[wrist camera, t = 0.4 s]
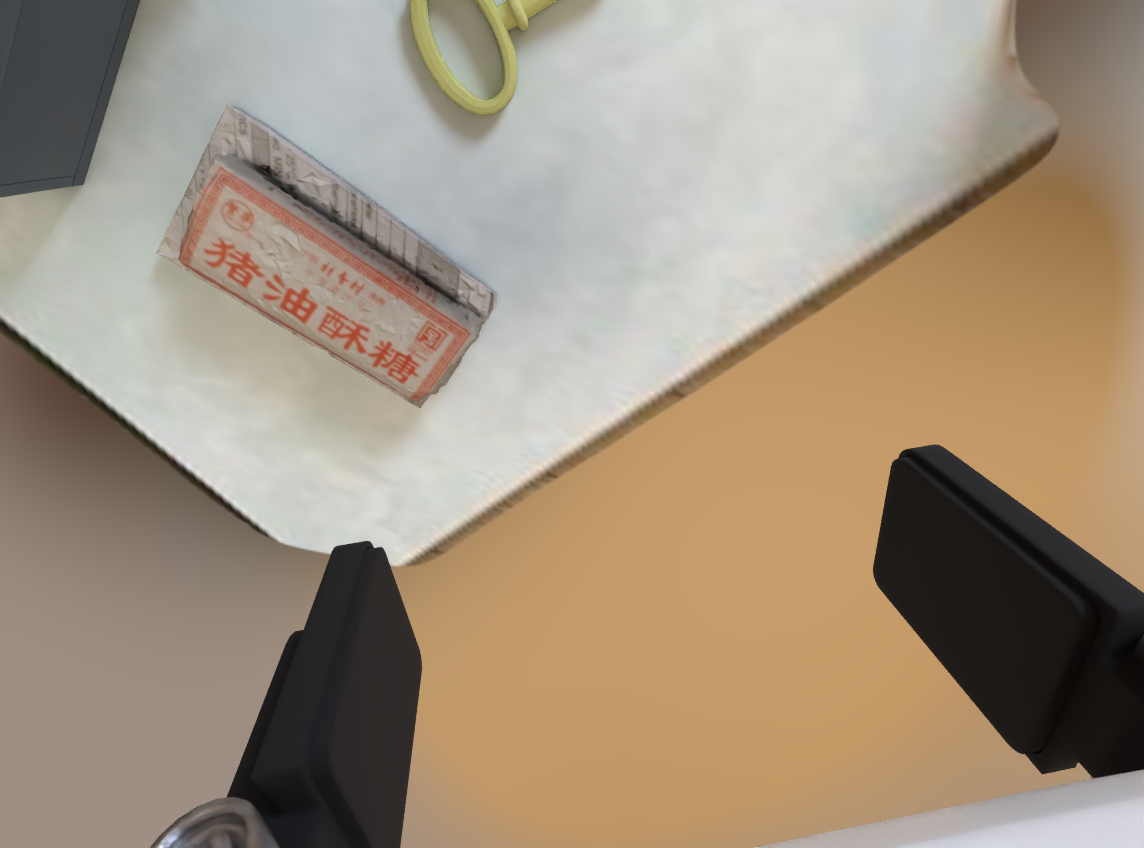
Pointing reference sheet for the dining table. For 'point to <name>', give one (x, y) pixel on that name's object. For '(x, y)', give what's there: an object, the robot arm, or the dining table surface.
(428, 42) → the key
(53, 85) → the blue box
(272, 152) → the packaged product
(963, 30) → the dining table surface
